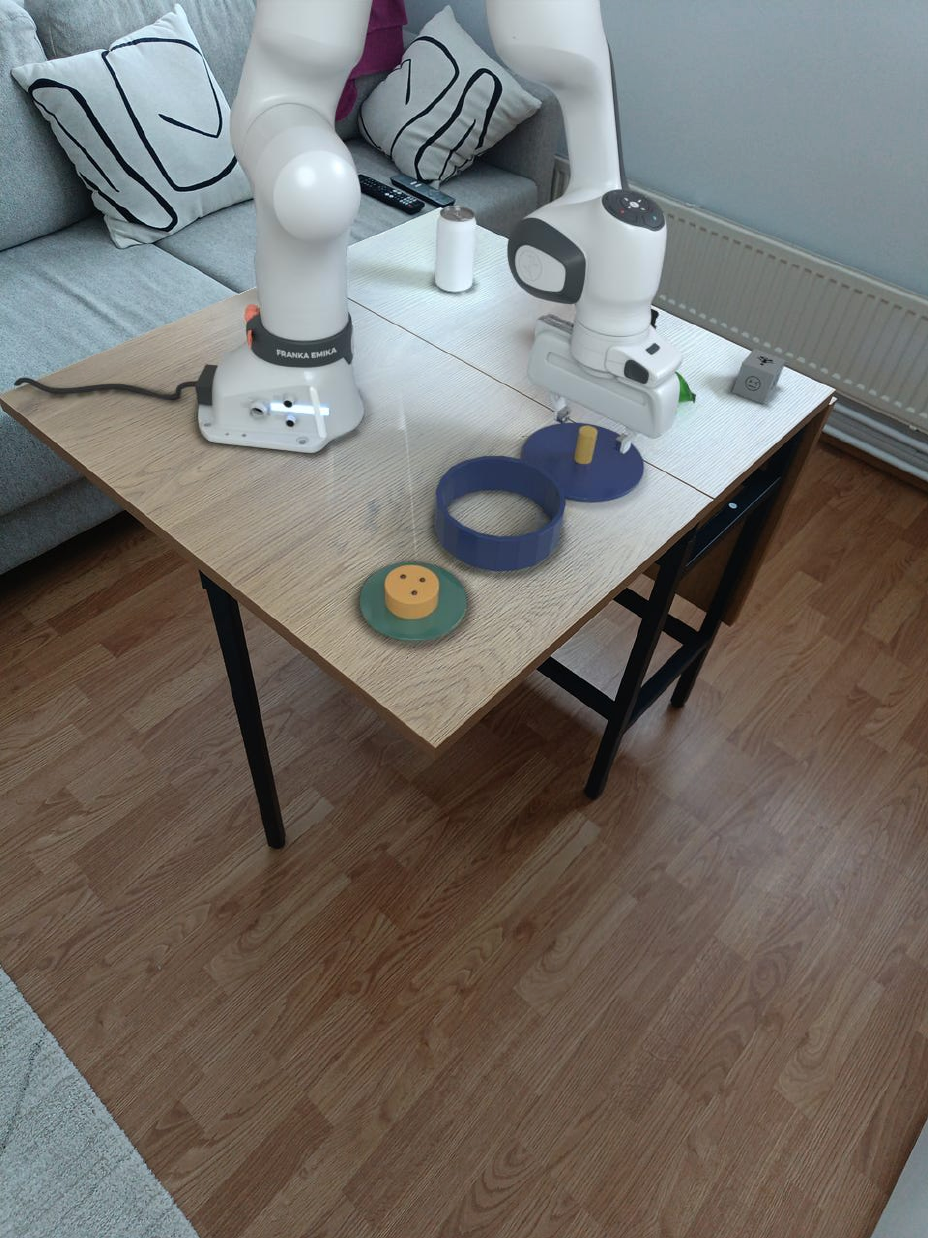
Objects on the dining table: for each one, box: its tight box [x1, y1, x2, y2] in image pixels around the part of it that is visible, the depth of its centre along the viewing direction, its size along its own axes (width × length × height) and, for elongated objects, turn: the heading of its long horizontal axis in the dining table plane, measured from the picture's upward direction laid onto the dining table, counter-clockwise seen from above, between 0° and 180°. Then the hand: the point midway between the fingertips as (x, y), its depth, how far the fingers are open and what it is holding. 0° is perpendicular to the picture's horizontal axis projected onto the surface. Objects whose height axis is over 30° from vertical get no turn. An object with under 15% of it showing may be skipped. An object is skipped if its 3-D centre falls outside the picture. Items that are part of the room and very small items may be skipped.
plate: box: [359, 561, 468, 643], centre depth 98 cm, size 12×12×1 cm
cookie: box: [385, 565, 439, 619], centre depth 97 cm, size 6×6×3 cm
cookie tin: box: [433, 455, 567, 572], centre depth 106 cm, size 15×15×6 cm
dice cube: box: [731, 348, 787, 405], centre depth 130 cm, size 5×5×5 cm
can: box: [434, 205, 477, 294], centre depth 144 cm, size 6×6×12 cm
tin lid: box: [520, 422, 645, 503], centre depth 115 cm, size 16×16×6 cm
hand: (590, 434), depth 114 cm, fingers open, 8 cm apart
